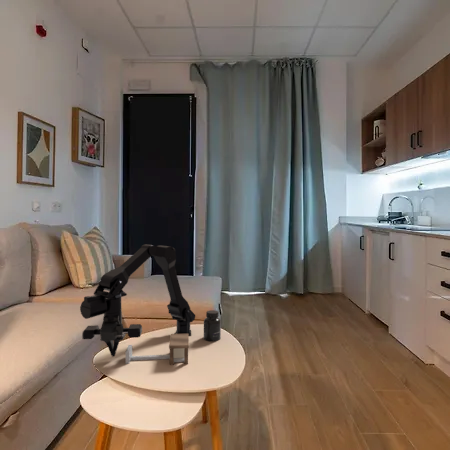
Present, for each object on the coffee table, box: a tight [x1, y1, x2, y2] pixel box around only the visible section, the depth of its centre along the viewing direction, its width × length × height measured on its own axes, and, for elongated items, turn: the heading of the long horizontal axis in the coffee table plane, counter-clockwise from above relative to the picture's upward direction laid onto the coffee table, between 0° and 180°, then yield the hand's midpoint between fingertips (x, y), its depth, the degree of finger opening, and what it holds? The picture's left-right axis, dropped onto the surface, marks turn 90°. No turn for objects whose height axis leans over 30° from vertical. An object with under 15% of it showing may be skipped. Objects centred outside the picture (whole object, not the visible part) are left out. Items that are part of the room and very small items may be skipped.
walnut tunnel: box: [168, 333, 190, 366], centre depth 122 cm, size 11×6×7 cm, turn 6°
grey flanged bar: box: [125, 344, 184, 365], centre depth 121 cm, size 7×20×4 cm, turn 96°
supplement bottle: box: [203, 309, 222, 343], centre depth 140 cm, size 7×7×12 cm
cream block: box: [174, 348, 184, 358], centre depth 122 cm, size 4×4×4 cm
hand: (113, 356), depth 120 cm, fingers closed
